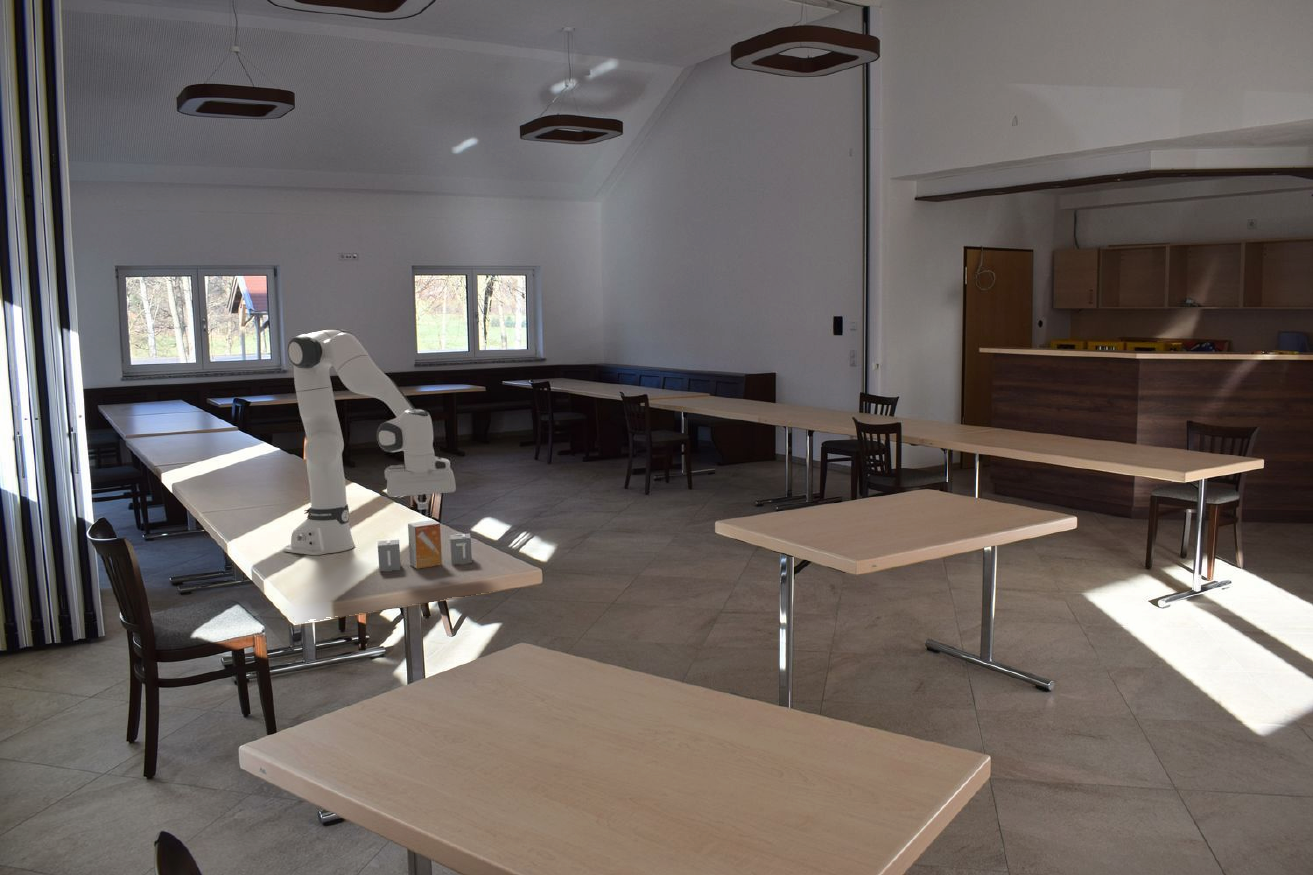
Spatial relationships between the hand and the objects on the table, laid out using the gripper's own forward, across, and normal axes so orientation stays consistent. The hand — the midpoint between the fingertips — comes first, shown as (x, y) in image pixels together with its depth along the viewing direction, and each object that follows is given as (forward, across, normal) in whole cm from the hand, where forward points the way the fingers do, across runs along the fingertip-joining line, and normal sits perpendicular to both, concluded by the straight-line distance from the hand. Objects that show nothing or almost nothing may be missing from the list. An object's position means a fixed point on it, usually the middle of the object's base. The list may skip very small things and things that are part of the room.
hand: (422, 508), depth 292 cm
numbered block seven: (+18, +10, 0) cm, 20 cm away
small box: (+18, 0, 0) cm, 18 cm away
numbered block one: (+17, -11, 0) cm, 20 cm away
